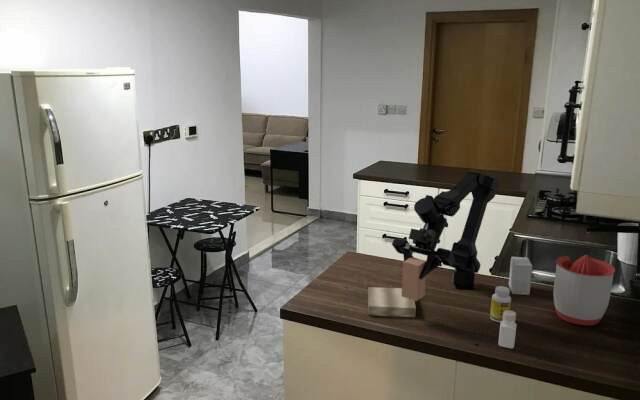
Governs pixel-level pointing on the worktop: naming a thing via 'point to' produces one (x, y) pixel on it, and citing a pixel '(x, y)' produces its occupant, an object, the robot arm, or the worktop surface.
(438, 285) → the worktop surface
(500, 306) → the supplement bottle
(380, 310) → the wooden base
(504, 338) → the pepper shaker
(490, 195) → the robot arm
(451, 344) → the worktop surface
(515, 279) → the small box
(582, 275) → the citrus juicer
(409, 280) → the terracotta block
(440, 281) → the worktop surface
